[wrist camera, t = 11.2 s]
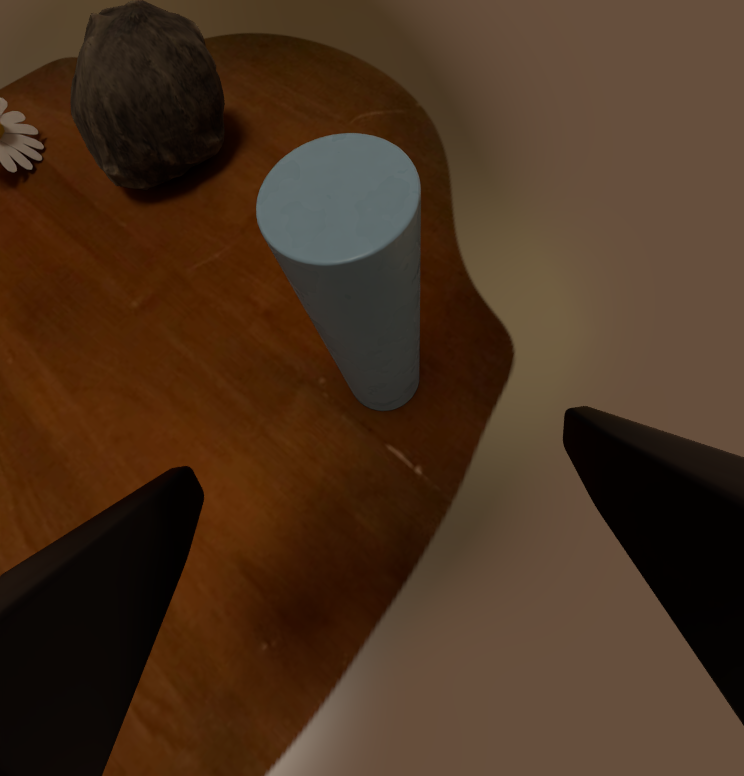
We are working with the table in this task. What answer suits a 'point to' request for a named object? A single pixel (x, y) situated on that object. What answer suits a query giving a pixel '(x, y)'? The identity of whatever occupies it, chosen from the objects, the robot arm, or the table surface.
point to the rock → (146, 95)
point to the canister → (353, 256)
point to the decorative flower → (16, 140)
